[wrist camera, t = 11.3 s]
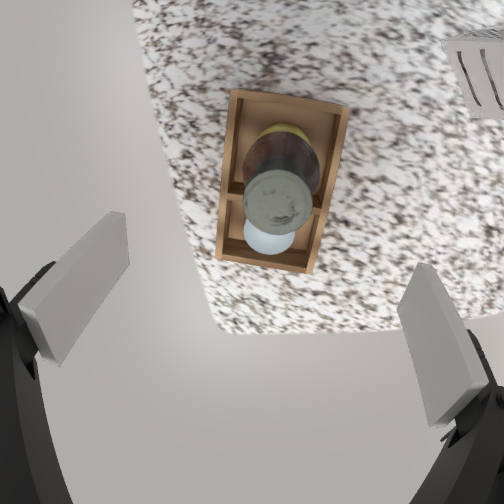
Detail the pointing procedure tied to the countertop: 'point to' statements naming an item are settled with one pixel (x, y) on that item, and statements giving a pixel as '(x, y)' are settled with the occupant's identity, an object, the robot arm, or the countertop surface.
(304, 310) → the countertop surface
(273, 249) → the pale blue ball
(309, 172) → the sauce bottle
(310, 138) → the caddy
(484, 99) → the grater
